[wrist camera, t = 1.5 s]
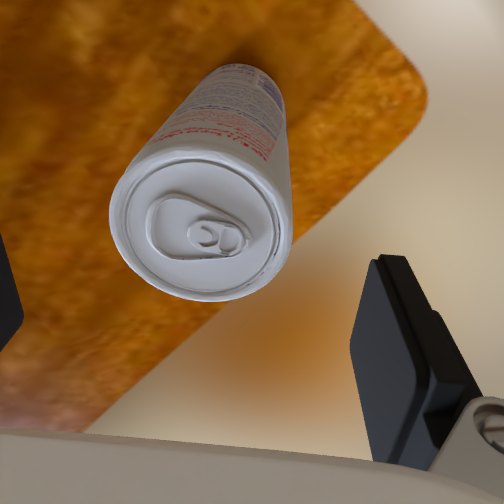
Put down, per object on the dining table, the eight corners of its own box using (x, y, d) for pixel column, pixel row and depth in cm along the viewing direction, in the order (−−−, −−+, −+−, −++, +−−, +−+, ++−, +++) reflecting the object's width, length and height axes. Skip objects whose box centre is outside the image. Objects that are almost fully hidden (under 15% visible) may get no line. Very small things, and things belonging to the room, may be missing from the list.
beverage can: (175, 88, 24) (65, 190, 12) (261, 44, 23) (242, 105, 10) (219, 171, 27) (167, 327, 14) (299, 135, 25) (321, 275, 13)
